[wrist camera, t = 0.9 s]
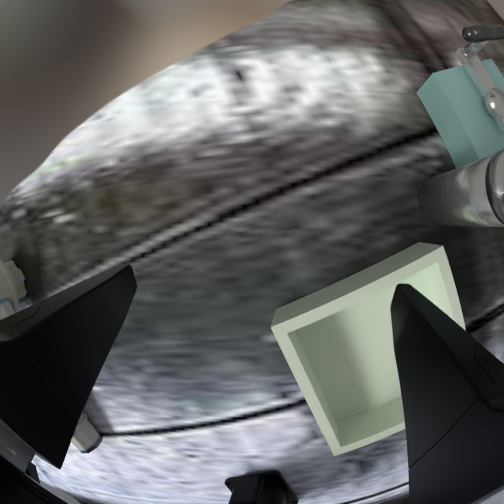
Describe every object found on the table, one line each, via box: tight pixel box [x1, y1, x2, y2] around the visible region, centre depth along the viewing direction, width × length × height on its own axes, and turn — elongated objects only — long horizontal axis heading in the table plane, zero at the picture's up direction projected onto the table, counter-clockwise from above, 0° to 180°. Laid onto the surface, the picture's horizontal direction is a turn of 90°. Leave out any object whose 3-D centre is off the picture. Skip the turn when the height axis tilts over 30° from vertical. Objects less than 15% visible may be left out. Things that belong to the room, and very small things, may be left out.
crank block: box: [417, 59, 504, 168], centre depth 17 cm, size 8×8×4 cm
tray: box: [271, 242, 466, 456], centre depth 20 cm, size 13×13×4 cm
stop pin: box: [418, 149, 504, 227], centre depth 15 cm, size 4×4×11 cm
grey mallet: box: [0, 260, 103, 453], centre depth 26 cm, size 5×7×25 cm
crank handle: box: [455, 24, 504, 132], centre depth 13 cm, size 7×5×5 cm
